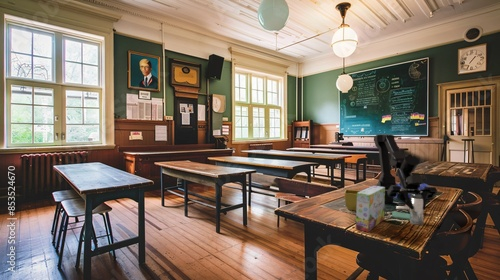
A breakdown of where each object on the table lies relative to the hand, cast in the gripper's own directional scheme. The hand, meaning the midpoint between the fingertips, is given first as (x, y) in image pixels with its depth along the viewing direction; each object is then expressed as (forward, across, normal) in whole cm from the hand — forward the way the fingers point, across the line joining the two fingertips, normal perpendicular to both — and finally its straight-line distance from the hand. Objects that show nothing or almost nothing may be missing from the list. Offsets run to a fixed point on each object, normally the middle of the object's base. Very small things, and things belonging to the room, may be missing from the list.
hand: (418, 209), depth 104 cm
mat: (-2, -2, +12) cm, 12 cm away
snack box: (+7, -20, +3) cm, 21 cm away
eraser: (-13, +9, +23) cm, 28 cm away
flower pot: (-8, -21, +18) cm, 29 cm away
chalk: (-11, +4, +21) cm, 24 cm away
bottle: (+4, 0, +6) cm, 7 cm away
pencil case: (-28, +19, +38) cm, 51 cm away
